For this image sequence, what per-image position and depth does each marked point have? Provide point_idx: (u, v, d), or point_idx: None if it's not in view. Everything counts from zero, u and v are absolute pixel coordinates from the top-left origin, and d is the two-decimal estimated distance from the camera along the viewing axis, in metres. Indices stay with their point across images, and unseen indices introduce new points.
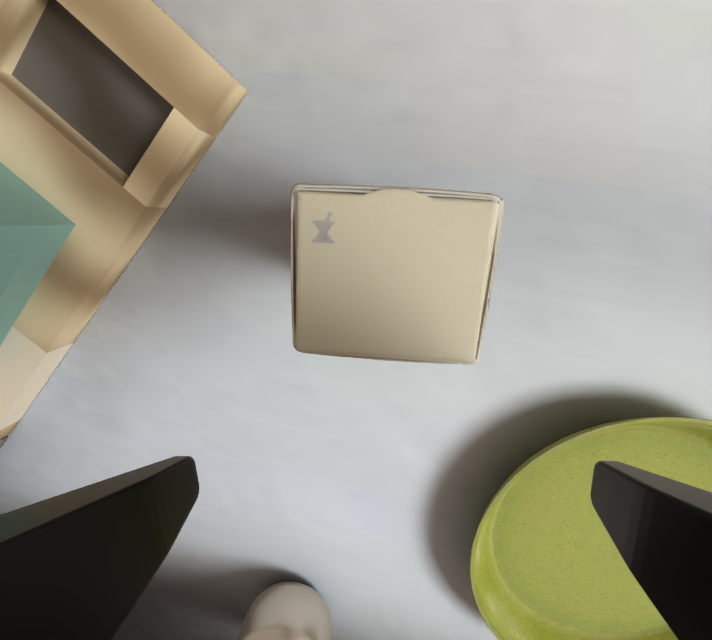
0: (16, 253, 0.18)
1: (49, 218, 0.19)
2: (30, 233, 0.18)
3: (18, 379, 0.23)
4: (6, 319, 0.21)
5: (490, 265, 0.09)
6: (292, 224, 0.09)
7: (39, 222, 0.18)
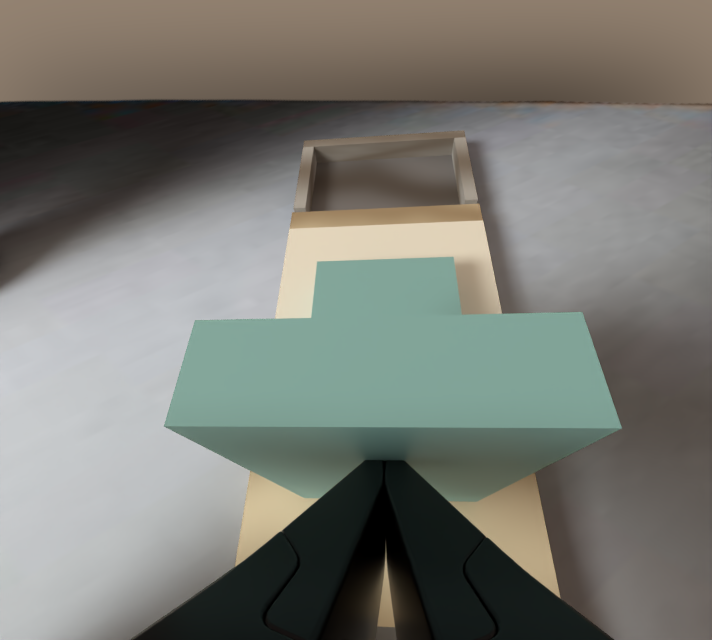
0: None
1: (309, 494, 0.14)
2: None
3: (288, 292, 0.21)
4: None
5: None
6: None
7: (298, 490, 0.14)
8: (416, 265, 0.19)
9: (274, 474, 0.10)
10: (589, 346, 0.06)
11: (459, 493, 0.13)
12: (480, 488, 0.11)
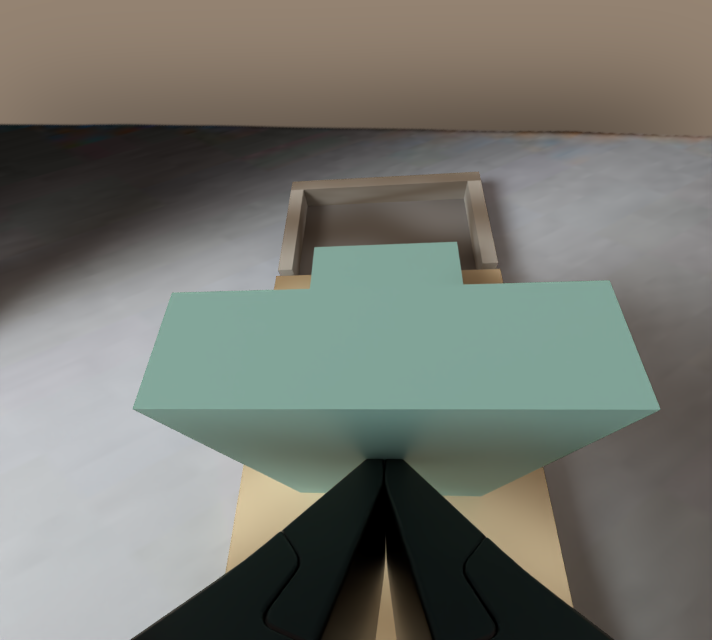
0: None
1: (305, 489, 0.14)
2: None
3: None
4: None
5: None
6: None
7: (294, 484, 0.13)
8: (418, 250, 0.18)
9: (266, 466, 0.09)
10: (618, 317, 0.05)
11: (464, 487, 0.12)
12: (487, 481, 0.11)
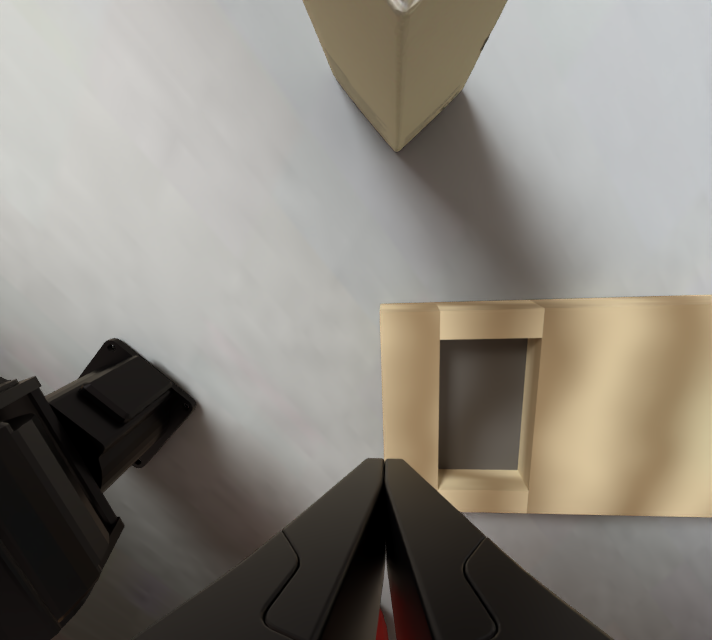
0: None
1: None
2: None
3: None
4: None
5: None
6: None
7: None
8: None
9: None
10: None
11: None
12: None
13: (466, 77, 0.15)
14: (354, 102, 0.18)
